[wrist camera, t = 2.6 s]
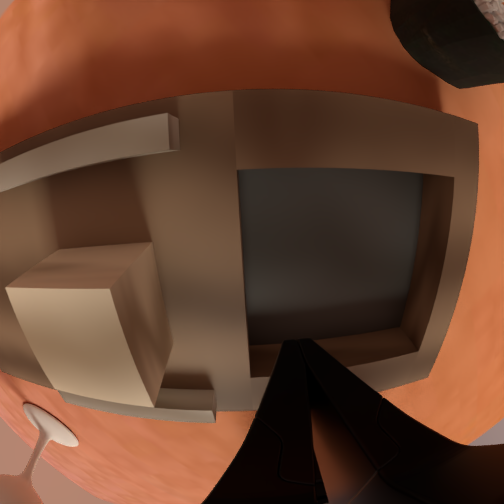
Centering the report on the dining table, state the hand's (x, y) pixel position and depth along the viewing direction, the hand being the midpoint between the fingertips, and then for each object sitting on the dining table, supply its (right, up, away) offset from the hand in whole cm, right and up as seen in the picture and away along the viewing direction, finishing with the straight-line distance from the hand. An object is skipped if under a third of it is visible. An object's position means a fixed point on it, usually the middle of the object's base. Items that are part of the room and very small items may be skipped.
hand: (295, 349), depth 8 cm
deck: (-7, +2, +6) cm, 9 cm away
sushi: (+11, +17, +1) cm, 20 cm away
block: (-8, +1, +3) cm, 8 cm away
